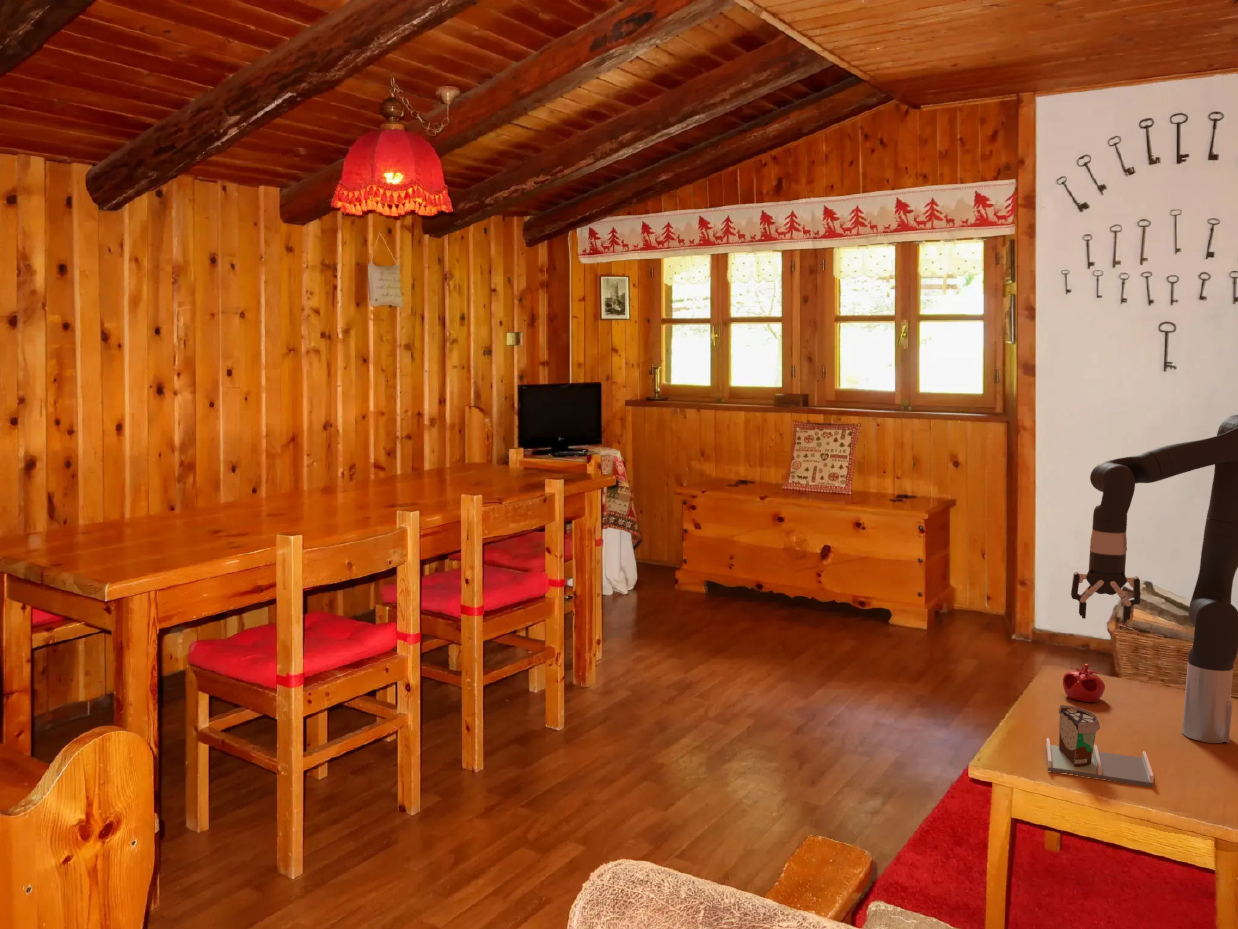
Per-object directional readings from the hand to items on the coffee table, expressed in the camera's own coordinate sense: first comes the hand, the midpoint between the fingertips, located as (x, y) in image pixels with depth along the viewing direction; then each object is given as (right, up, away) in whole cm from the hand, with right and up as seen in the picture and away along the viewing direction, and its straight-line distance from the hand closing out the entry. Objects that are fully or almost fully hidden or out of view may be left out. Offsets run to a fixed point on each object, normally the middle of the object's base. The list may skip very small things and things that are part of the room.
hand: (1103, 619), depth 237 cm
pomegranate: (+9, -25, +30) cm, 40 cm away
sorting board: (-8, -30, -15) cm, 34 cm away
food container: (-11, -28, -13) cm, 33 cm away
